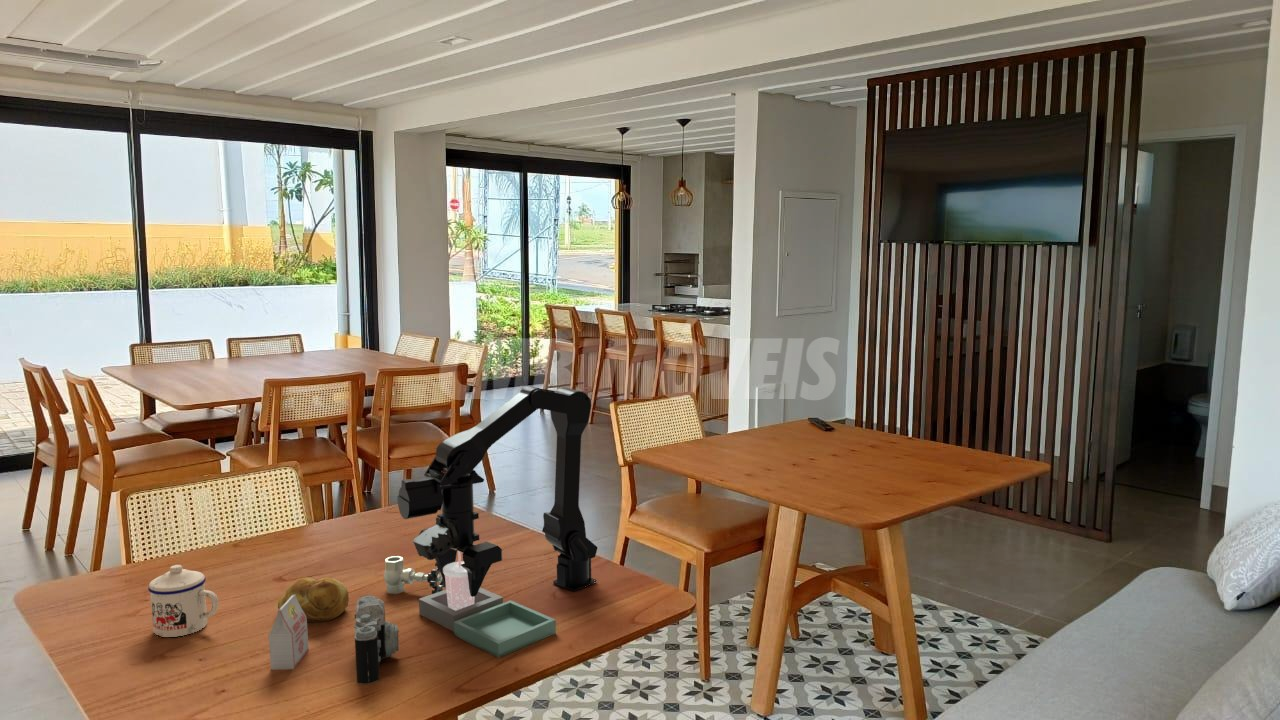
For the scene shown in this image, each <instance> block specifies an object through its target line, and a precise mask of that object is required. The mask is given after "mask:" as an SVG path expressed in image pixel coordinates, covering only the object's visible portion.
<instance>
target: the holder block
mask: <svg viewBox="0 0 1280 720" xmlns="http://www.w3.org/2000/svg"><path fill="white" fill-rule="evenodd" d="M502 603H504V597H503V596H501V595H499V594H496V593H494V592H492V591H489V590H487V589H485V588H482V586H481V587H480V589H479V591H478V593H477V595H476V596H475V599H474V604H472V605H470V606H467V607H464V608H462V609H459V610H456V611H455V610H453V609H451V608H449V607H448V601H447V591H446V589H443V591H440V592H437V593H434V594H432V593H431V594H429V595H426V596H423V597H420V598H418V612H419V613H418V614H419V616H422V617H424V618H426V619H428V620H429V621H432V622H434V623H436V624H438V625H440V626H442V627H444V628H446V629H448V630H450V631H451V632H454V622H455V621H457V620H460V619H462V618H465V617H468V616H470V615H473V614H476V613H478V612H481V611H484V610H486V609H489V608H492V607H494V606H497V605H499V604H502Z"/></svg>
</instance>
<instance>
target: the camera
mask: <svg viewBox="0 0 1280 720" xmlns="http://www.w3.org/2000/svg"><path fill="white" fill-rule="evenodd" d="M385 609H386V608H385V602H384V600H382V599H380V598H376V596H375V595H364V596H362V597H360V598H359V599H358V600H357V601H356V610H355V614H354V621H355V624H354V625H353V628H354V648H355V662H356V663H355V665H356V668H355V669H356V683H357V684H360V685H368V684H369V683H370V684H374V683H375V682H378V681H379V680H380V662H381V660H386V659H387V658H389V657H390V658H391V657H392V656H393V654H396V652H398V651H400V646H399V645H400V644H399V643H400V642H399V641H400V640H399V626H398V625H395V624H394V623H391V621H386V610H385ZM370 684H369V685H370Z"/></svg>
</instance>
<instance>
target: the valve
mask: <svg viewBox="0 0 1280 720" xmlns="http://www.w3.org/2000/svg"><path fill="white" fill-rule="evenodd" d="M384 561H385V562H384V564H385V569H384V571H383V580H384V582H385V583H386V594H390V595H391V594H392V595H397V594H401V593H403V592H405V584H406V585H412V584H413V583H414V582H419V583H425V581H426V582H427V583H428V584H429V587H431V588H432V589H433V590H431V594H434V593H437V592H440V591H443V590H444V589H443V588H446V585H445V583H444V580H443V578H442V575H441V572H440V570H439V567H438V564H437V562H436V561H435V564H434V566H435V567H436V569H431V571H430V572H428V574H427V573H425V572H421V571H420V572H416V571H415V569H414V568H407V569H405V567H404V558H403V556H399V555H397V556H395V555H394V556H389V557H387V558H385V559H384ZM438 584H439V585H438Z"/></svg>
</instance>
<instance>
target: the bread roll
mask: <svg viewBox="0 0 1280 720" xmlns="http://www.w3.org/2000/svg"><path fill="white" fill-rule="evenodd" d="M295 594H296V598H297V600H298V602H299V604H300V606H301V608H302V610H303V612H304V613H305V615H306V617H307V622H312V623H313V622H327V621H331V620H333V619H336V618H337V617H338V616H340V615H341V614H342V613H343V612H344V611H345V610H346V608H347V607H348V606H349V600H350V598H349V591H348V589H347V587H346V586H345V584H344V583H343V582H342V581H339V580H338V579H335V578H333V577H329V576H328V577H322V578H319V579H318V580H316V579H314V578H312V577H300V578H297V579H296V580H295V581H292V582H291V584H289V585H288V587H287V588H286V591H285V594H284V595H283V596H281V597H280V598H279V599H278V601H277V609H278V610H279V609H280V608H281V607H282V606H283V605H284V604H285V603H286V602H287V600H288V599H289V598H290V597H291V596H292V595H293V596H294V595H295Z"/></svg>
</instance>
